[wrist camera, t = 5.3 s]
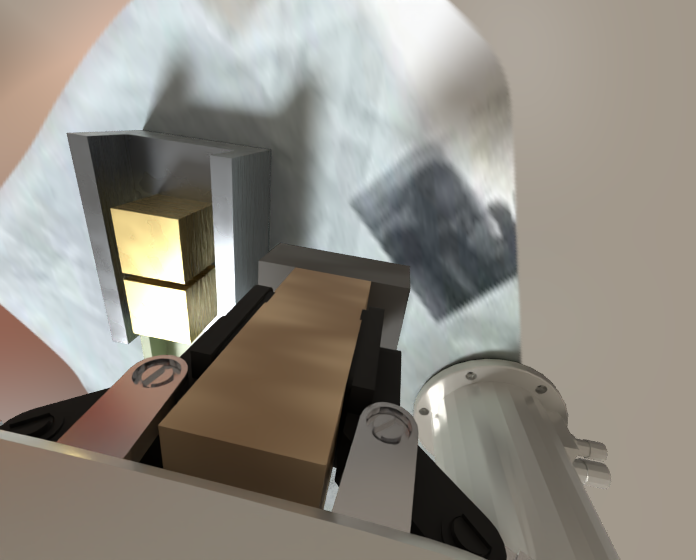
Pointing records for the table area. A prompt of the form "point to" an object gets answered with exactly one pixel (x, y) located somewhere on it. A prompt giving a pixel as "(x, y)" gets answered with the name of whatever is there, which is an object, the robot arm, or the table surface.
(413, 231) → the table surface
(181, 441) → the t-shaped hammer
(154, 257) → the yellow wooden cube
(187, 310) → the yellow cube
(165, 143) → the channel
